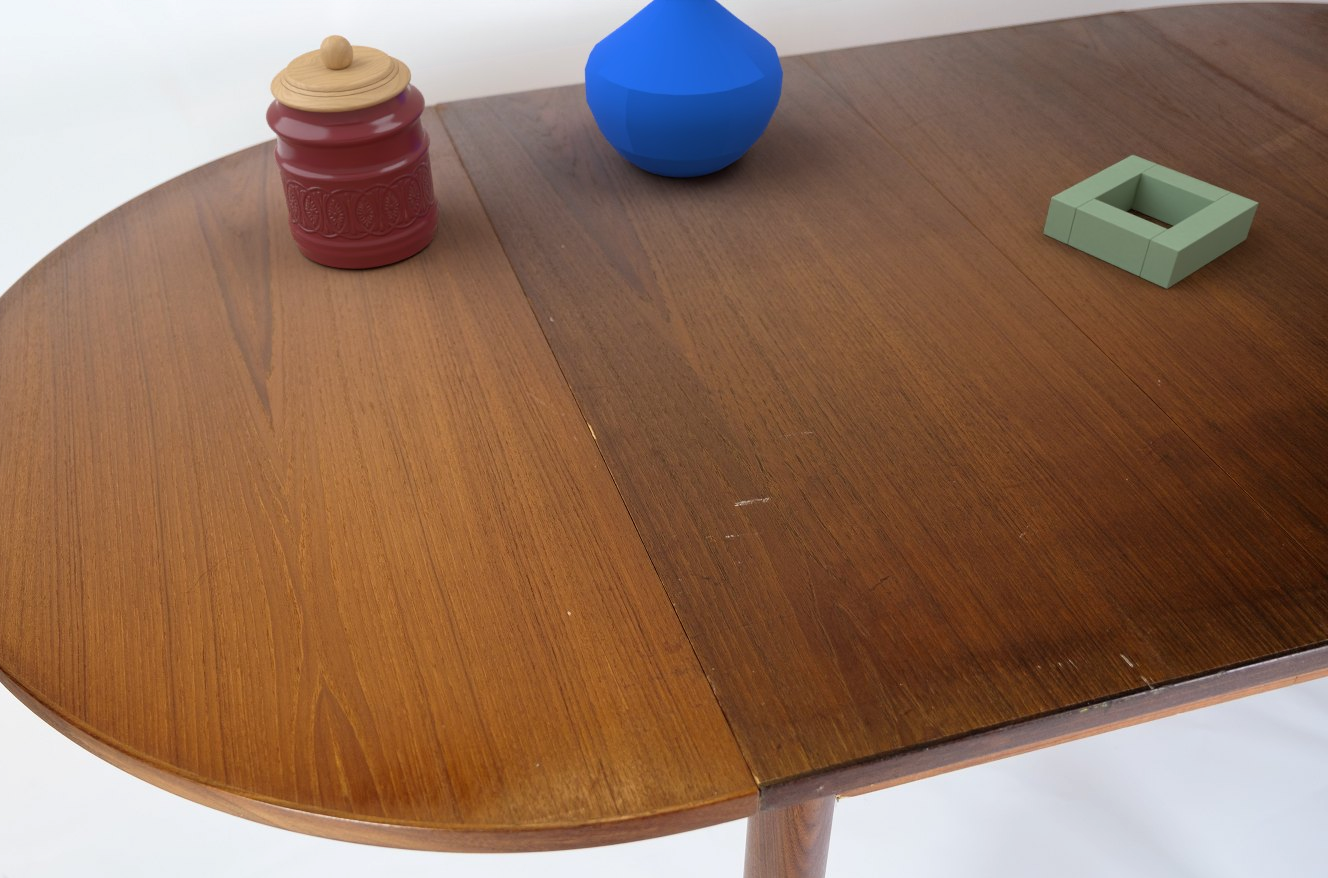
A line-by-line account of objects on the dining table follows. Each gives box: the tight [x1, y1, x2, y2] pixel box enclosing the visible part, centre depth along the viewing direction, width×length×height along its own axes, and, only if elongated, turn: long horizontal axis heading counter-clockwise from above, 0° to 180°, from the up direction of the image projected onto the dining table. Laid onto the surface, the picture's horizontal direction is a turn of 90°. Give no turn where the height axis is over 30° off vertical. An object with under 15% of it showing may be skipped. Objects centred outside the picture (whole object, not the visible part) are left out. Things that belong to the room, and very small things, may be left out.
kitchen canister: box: [265, 34, 440, 270], centre depth 104 cm, size 13×13×18 cm
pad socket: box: [1042, 154, 1259, 290], centre depth 105 cm, size 12×12×4 cm
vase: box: [584, 0, 784, 178], centre depth 114 cm, size 18×18×19 cm
